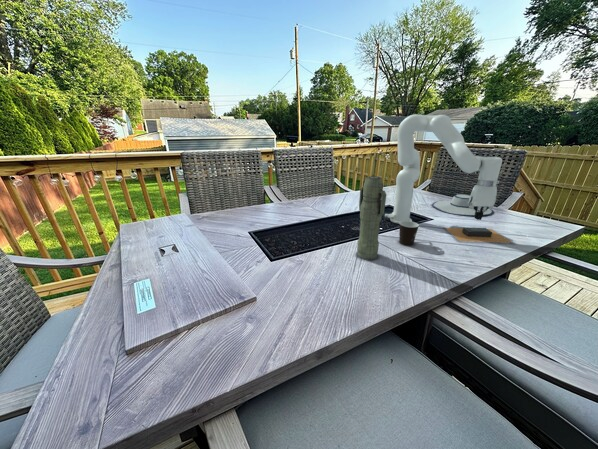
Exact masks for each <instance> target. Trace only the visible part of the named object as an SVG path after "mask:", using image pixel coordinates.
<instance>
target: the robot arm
mask: <svg viewBox="0 0 598 449" xmlns="http://www.w3.org/2000/svg"><path fill="white" fill-rule="evenodd" d="M416 132H423V133H433V135H434V136H435V137H436V138H437V139H438V140H439V142H440V143H441V144H442V145H443V147H444V148H445V149H446V151H447V153H448V154H449V155H450V157H451V158H452V160H453V161H454V163H455V164H456V165H457V166H458V167H459V168H460V170H461V171H462V172H463V173H466V174H473V173H475V172H477V171H478V173H479V174H478V178H477V182H476V184H475V185H474V186H473V188H472V190H471V193H470V195H469V196H470V198H469V204H470V205H469V207H470V208H473V209H474V210H475V215H474V216H473V217H474V220H475V219H476V220H477V221H481V220H482V219H483V216H484V215H483V213H484V212H485V211H486V210H487V209H491V210H492V209H493V208H494V205H495V203H496V201H497V195H498V187H497V185H498V184H500V180H498V179H499V175H500V172H501V168H502V164H503V158H502V157H499V156H480V155H474V153H473V152H472V151H471V150H470V149H469V147H468V145H467V144H466V142H465V139H464V136H463V135H462V134H461V132H460V131H459V130H458V128H456V127H455V125H454V124H453V122H452V119H451V117H450V116H448V115H447V114H438V115H433V114H432V115H430V114H429V115H428V114H418V113H415V114H411V115H408V116H407V117H405V118H404V119H403V120H402V121H401V122H400V124H399V125H398V128H397V132H396V135H397V136H396V137H397V139H396V140H397V163H398V164H399V166H401V167H402V169H401V170H400V171H399V172H398V174H397V175H396V178H395V194H394V195H395V196H394V202H393V204H394V205H393V211H392V212H391V213H384V217H385V218H387V219H389V221H390V222H391V223H394V224H398V225H400V222H402V221H411V222H413V219H412V218H411V212H412V211H411V210H412V204H413V196H414V184H415V183H416V182H417V181H418V180H419V179H420V177H421V156H420V152H419V151H418V149H416V148H415V138H414V133H416ZM480 206H481V208H480Z"/></svg>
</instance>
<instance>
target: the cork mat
mask: <svg viewBox="0 0 598 449" xmlns="http://www.w3.org/2000/svg"><path fill="white" fill-rule="evenodd" d="M444 229H446V231H447V232H448V233H449V234H451V235H452V236H453V237H454V238H455V239H457V241H459V242H479V243H480V242H481V243H506V244H507V243H508V244H513V242H512V241H511V240H509V239H507V238H506V237H504V236H503V235H501V234H500V233H498V232H496V231H495V230H493V229H491V228H487V229H488V230H489V231H491V232H492V235H491V237H469V236H466V235H465V234H464V233H463V232H462V230H463V227H444Z"/></svg>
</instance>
